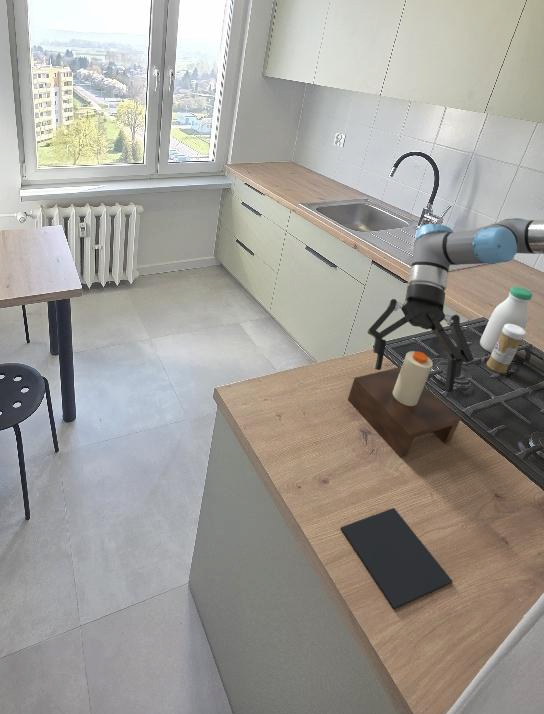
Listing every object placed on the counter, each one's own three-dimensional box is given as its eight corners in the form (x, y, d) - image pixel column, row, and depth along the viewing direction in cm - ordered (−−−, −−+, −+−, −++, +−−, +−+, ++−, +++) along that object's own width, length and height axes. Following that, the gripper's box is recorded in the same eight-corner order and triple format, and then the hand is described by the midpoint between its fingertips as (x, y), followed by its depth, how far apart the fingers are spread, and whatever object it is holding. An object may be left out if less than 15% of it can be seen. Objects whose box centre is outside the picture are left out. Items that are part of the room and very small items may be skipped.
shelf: (450, 441, 92) (460, 418, 89) (400, 457, 87) (410, 434, 85) (392, 387, 105) (400, 366, 103) (347, 399, 101) (354, 377, 98)
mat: (451, 583, 67) (452, 581, 67) (393, 609, 64) (394, 608, 63) (393, 509, 78) (394, 507, 77) (340, 528, 74) (340, 527, 74)
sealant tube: (422, 403, 92) (440, 361, 87) (405, 408, 91) (421, 365, 86) (404, 386, 96) (419, 345, 92) (387, 391, 95) (402, 349, 90)
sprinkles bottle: (482, 361, 116) (500, 321, 111) (500, 363, 116) (519, 324, 110) (492, 373, 112) (511, 332, 106) (510, 375, 111) (530, 335, 106)
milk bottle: (508, 361, 116) (538, 302, 108) (476, 347, 121) (501, 289, 113) (514, 349, 121) (542, 291, 113) (482, 336, 126) (507, 279, 118)
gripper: (483, 307, 95) (473, 401, 89) (365, 278, 105) (348, 362, 98) (498, 299, 89) (488, 400, 83) (370, 269, 98) (353, 358, 92)
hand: (412, 380), depth 90 cm, fingers open, 13 cm apart
